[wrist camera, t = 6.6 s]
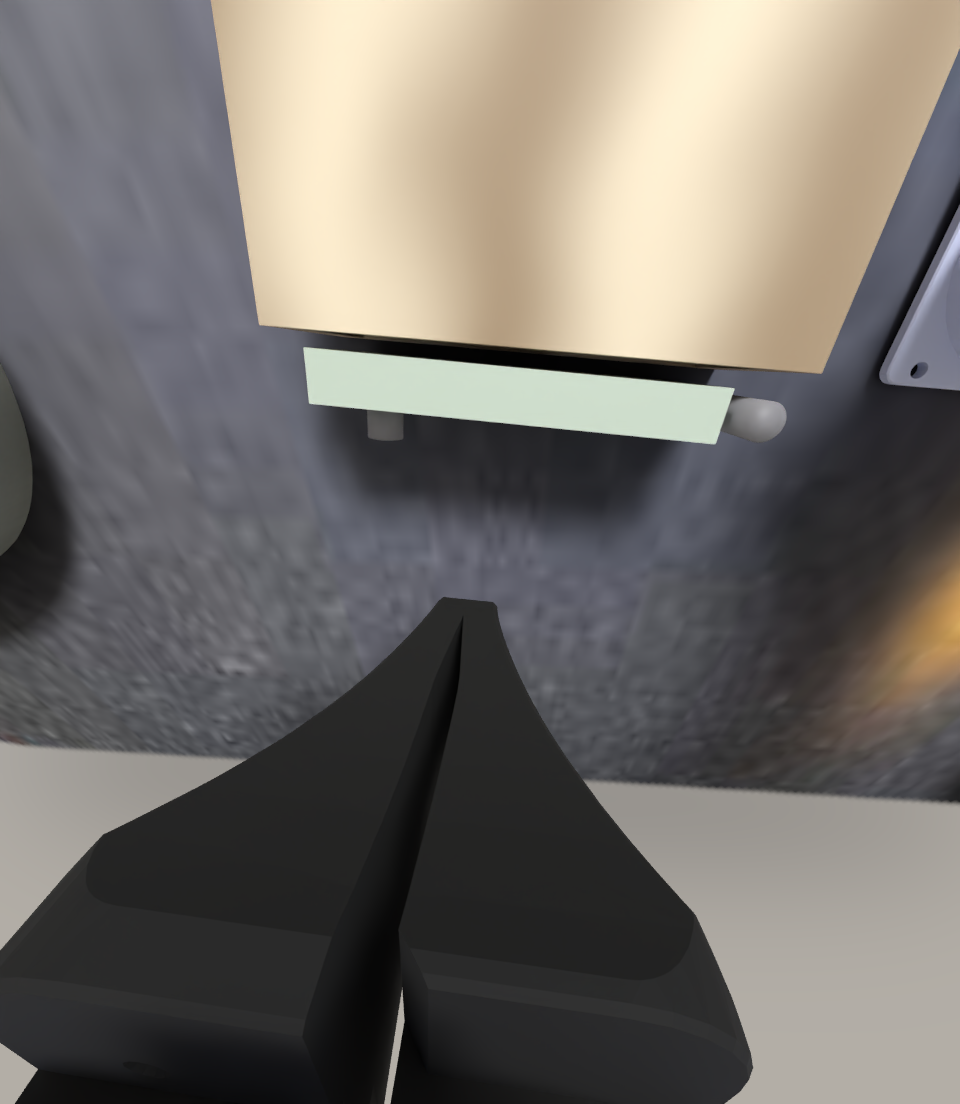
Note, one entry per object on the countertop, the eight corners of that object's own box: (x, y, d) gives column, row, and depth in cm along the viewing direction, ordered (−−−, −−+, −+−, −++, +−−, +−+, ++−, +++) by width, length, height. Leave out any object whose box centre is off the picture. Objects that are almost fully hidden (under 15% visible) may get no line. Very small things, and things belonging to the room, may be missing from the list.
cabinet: (848, -58, 10) (1180, -472, 5) (715, 369, 14) (821, 373, 9) (316, -83, 11) (138, -486, 6) (344, 336, 15) (259, 325, 10)
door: (699, 383, 15) (796, 394, 10) (677, 453, 16) (754, 496, 11) (369, 351, 15) (296, 346, 10) (371, 422, 16) (306, 449, 11)
